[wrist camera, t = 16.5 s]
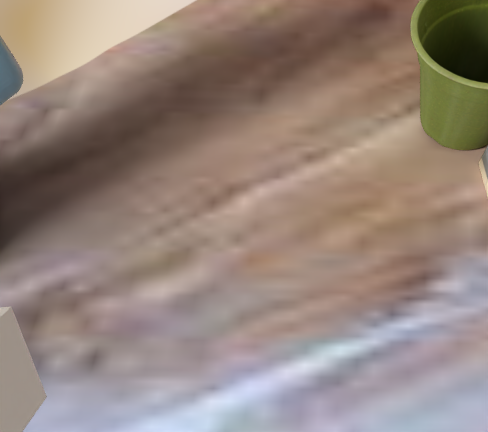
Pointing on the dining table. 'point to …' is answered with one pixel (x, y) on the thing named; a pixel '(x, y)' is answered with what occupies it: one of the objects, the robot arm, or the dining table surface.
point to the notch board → (484, 169)
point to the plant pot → (453, 70)
